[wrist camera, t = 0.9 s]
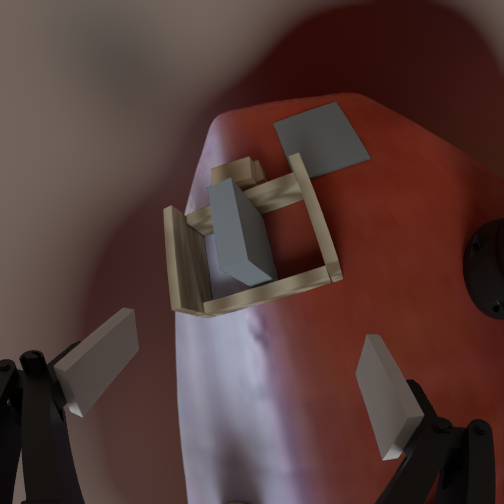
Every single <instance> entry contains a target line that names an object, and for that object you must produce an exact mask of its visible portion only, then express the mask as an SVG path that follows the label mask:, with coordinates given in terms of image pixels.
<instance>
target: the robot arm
mask: <svg viewBox="0 0 504 504" xmlns="http://www.w3.org/2000/svg"><path fill="white" fill-rule="evenodd" d="M463 272H464V279H465V284H466V287H467V290H468V293H469V295H470V297H471V299H472V301H473V302H474V304H475V305H476V306H477V307H478V309H479V310H480V311H482V312H483V313H484V314H485V315H487V316H489V317H491V318H494V319H504V218H501V219H497V220H494V221H490V222H488V223H486V224H484V225H483V226H482V227H480V228H479V229H478V230H477V232H476V233H475V234H474V235H473V236H472V238H471V239H470V241H469V243H468V245H467V247H466V251H465V255H464V261H463ZM138 350H139V347H138V339H137V332H136V324H135V314H134V310H132V309H127V308H122V309H121V310H120V311H118V312H117V313H116V314H115V315H113V316H112V317H111V318H110V319H109V320H107V321H106V322H105V323H104V324H103V325H101V326H100V327H99V328H98V329H96V331H94V332H93V333H92V334H90V335H89V336H88V337H87V338H86V339H84V340H83V341H82V342H81V341H78V342H76V343H74V344H72V345H70V346H69V347H68V348H67V349H66V350H65V351H63V352H62V353H61V354H59V355H58V356H57V357H56V358H55V359H54V360H52V361H51V362H50V363H49V364H46V361H45V358H44V355H43V353H42V352H40V351H37V350H31V351H27V352H25V353H23V354H22V355H21V356H20V358H19V360H20V362H21V365H22V368H23V370H24V371H22V370H18V369H17V368H16V365H15V363H14V362H13V361H12V360H9V359H4V360H1V361H0V504H12V500H13V493H14V485H15V479H16V472H17V467H18V462H19V457H20V452H21V448H22V462H23V463H22V464H23V474H24V484H25V492H26V501H22V502H21V504H85V502H84V499H83V496H82V493H81V489H80V486H79V482H78V478H77V474H76V470H75V467H74V462H73V457H72V453H71V448H70V442H69V436H68V430H67V423H66V416H65V411H64V408H63V407H64V406H65V405H66V403H67V404H68V407H69V409H70V411H71V412H72V413H75V414H77V415H79V416H81V417H83V416H84V415H85V414H86V413H87V411H88V410H89V409H90V408H91V407H92V405H93V404H94V403H95V402H96V400H97V399H98V398H99V397H100V395H101V394H102V393H103V392H104V391H105V389H106V388H107V387H108V386H109V385H110V383H111V382H112V381H113V380H114V378H115V377H116V376H117V375H118V374H119V373H120V371H121V370H122V369H123V368H124V367H125V365H126V364H127V363H128V362H129V361H130V359H131V358H132V357H133V356H134V354H135V353H136V352H137V351H138ZM355 375H356V378H357V380H358V383H359V386H360V389H361V392H362V395H363V398H364V401H365V405H366V408H367V411H368V414H369V417H370V420H371V424H372V427H373V430H374V433H375V437H376V440H377V443H378V447H379V450H380V454H381V457H382V460H389V459H395V458H398V457H399V456H400V454H401V453H402V451H403V450H404V452H405V455H406V457H405V458H404V460H403V461H402V462H401V464H400V465H399V466H398V468H397V469H396V470H397V471H396V473H395V474H394V476H393V477H392V479H391V481H390V482H389V484H388V485H387V487H386V488H385V490H384V491H383V492H382V494H381V495H380V497H379V498H378V499H377V501H376V502H375V504H423V503H424V501H425V500H426V498H427V496H428V494H429V492H430V489H431V487H432V485H433V483H434V481H435V479H436V476H437V474H438V472H439V470H440V474H439V481H438V488H437V494H436V499H435V504H495V486H496V484H495V457H494V445H493V436H492V429H491V426H490V425H489V424H488V423H487V422H486V421H484V420H481V419H475V420H472V421H471V422H470V423H469V425H468V426H467V428H462V427H453V425H452V423H451V422H450V421H449V420H447V419H445V418H441V417H438V416H437V414H436V412H435V411H434V409H433V407H432V405H431V404H430V402H429V400H428V399H427V397H426V395H425V393H424V391H423V390H422V388H421V386H420V385H419V384H418V383H416V382H415V381H414V380H413V379H411V380H405V378H404V376H403V375H402V373H401V371H400V369H399V368H398V366H397V364H396V362H395V361H394V359H393V357H392V355H391V354H390V352H389V350H388V349H387V347H386V345H385V343H384V342H383V340H382V338H381V337H380V335H373V334H367V335H366V339H365V343H364V347H363V350H362V354H361V357H360V361H359V364H358V367H357V371H356V374H355ZM7 401H9V402H8V404H7Z"/></svg>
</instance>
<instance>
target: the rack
mask: <svg viewBox="0 0 504 504" xmlns="http://www.w3.org/2000/svg"><path fill="white" fill-rule="evenodd" d="M288 157H289V160H290V162H291V165H292V168H293V170H294V172H293V173H290V174H287V175H285V176H282V177H279V178H277V179H274V180H271V181H269V182H266V183H263V184H261V185H258V186H256V187H253V188H251V189H248V190H245V191H243V193H244V194H245V195H246V197H247V198H248V199H249V200H250V202H251V203H252V204H253V205H254V207H255V208H256V209H257V210H258V212H259V213H260V214H261V215H262V214H265V213H268V212H270V211H273V210H276V209H279V208H281V207H284V206H287V205H290V204H292V203H295V202H298V201H301V200H304V201H305V204H306V207H307V210H308V213H309V216H310V218H311V221H312V224H313V228H314V231H315V234H316V237H317V240H318V243H319V246H320V249H321V252H322V256H323V259H324V262H325V266H322V267H319V268H316V269H313V270H310V271H307V272H304V273H301V274H298V275H294V276H291V277H288V278H285V279H282V280H279V281H275V282H272V283H269V284H266V285H262V286H259V287H256V288H252V289H249V290H246V291H242V292H239V293H236V294H232V295H229V296H225V297H222V298H219V299H215V300H213V295H212V289H211V283H210V276H209V270H208V263H207V256H206V249H205V242H204V236H207V235H209V234H212V233H214V230H213V223H212V216H211V210H210V205H209V206H206V207H204V208H202V209H199V210H197V211H195V212H192V213H190V214H188V215H186V216H185V215H184V214H182V213H181V212H180V211H178V210H177V209H175V208H174V207H173V206H172V205H171V206H169V207H167V208H165V209H164V227H165V244H166V258H167V269H168V281H169V291H170V299H171V308H172V310H173V311H177V312H182V313H186V314H190V315H195V316H199V317H203V318H211V317H215V316H219V315H223V314H227V313H230V312H234V311H238V310H241V309H245V308H249V307H252V306H256V305H259V304H263V303H266V302H270V301H273V300H277V299H280V298H284V297H287V296H290V295H294V294H297V293H300V292H303V291H307V290H310V289H313V288H316V287H320V286H323V285H326V284H329V283H332V282H331V279H332V281H333V282H335V281H338V280H341V279H343V277H342V273H341V269H340V265H339V261H338V257H337V254H336V251H335V248H334V245H333V242H332V239H331V236H330V233H329V230H328V228H327V225H326V222H325V219H324V216H323V213H322V211H321V208H320V205H319V203H318V200H317V197H316V195H315V192H314V189H313V187H312V184H311V181H310V179H309V176H308V174H307V171H306V169H305V166H304V164H303V161H302V159H301V157H300V154H299V153H296V154H293V155H291V156H288ZM294 173H295V174H294ZM296 178H297V179H296ZM326 267H327V268H326ZM329 274H330V276H329ZM330 277H331V279H330Z"/></svg>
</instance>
